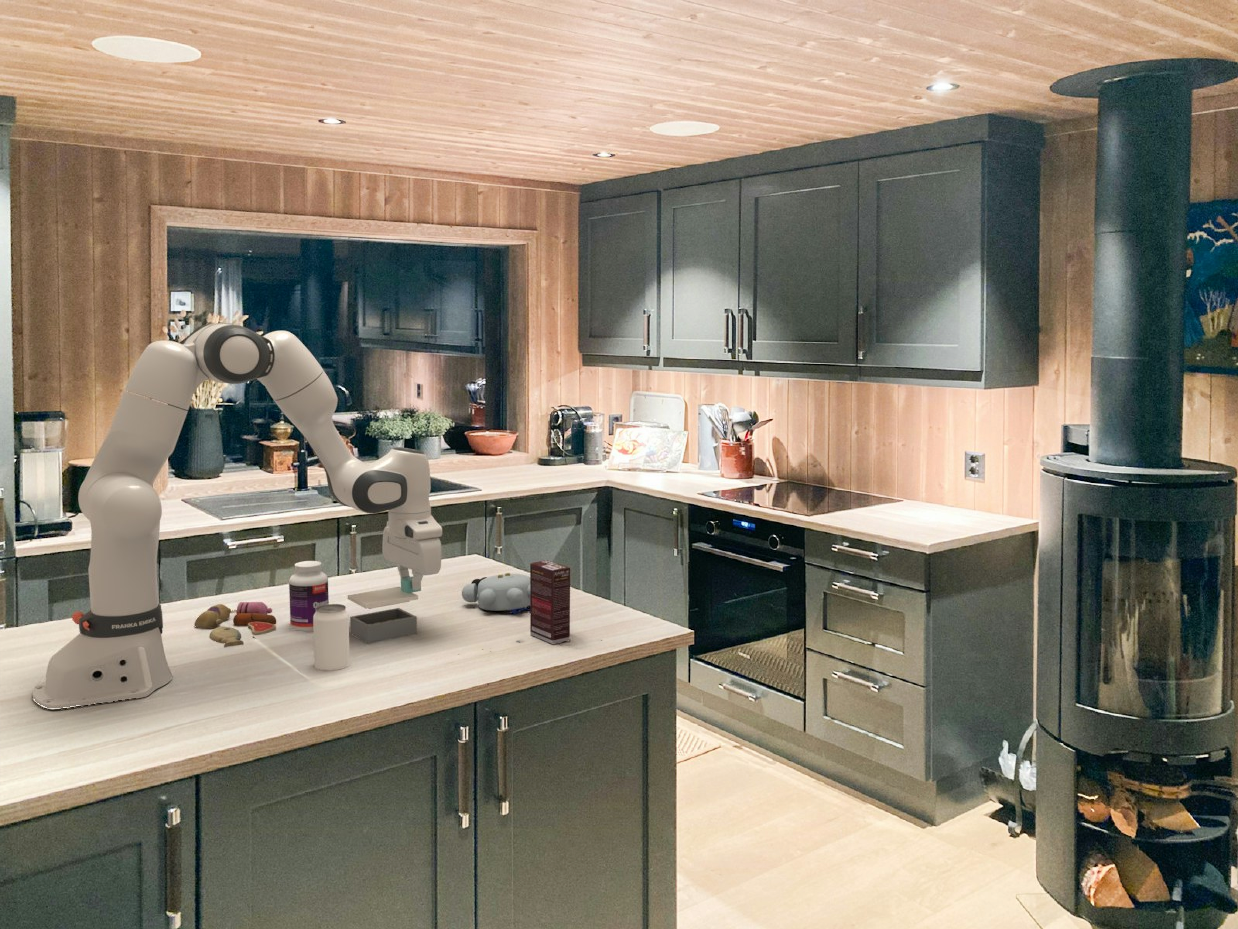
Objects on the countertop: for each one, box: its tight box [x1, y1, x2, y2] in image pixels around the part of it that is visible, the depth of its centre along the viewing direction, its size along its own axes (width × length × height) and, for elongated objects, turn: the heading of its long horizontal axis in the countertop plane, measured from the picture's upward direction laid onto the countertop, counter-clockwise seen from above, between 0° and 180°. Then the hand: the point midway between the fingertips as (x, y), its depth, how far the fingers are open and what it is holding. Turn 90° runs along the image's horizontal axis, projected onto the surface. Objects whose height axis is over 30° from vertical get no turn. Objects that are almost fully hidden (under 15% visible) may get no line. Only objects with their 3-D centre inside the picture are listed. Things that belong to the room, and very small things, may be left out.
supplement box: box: [529, 559, 571, 645], centre depth 213 cm, size 9×5×16 cm, turn 39°
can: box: [312, 603, 350, 671], centre depth 193 cm, size 6×6×12 cm
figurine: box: [461, 572, 530, 615], centre depth 238 cm, size 17×8×20 cm
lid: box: [347, 576, 422, 610], centre depth 213 cm, size 14×9×4 cm, turn 129°
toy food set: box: [194, 601, 277, 648], centre depth 220 cm, size 26×16×4 cm, turn 42°
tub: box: [349, 607, 418, 645], centre depth 213 cm, size 11×8×4 cm
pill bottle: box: [288, 560, 330, 632], centre depth 218 cm, size 8×8×14 cm
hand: (410, 587), depth 216 cm, fingers closed on lid, 3 cm apart
